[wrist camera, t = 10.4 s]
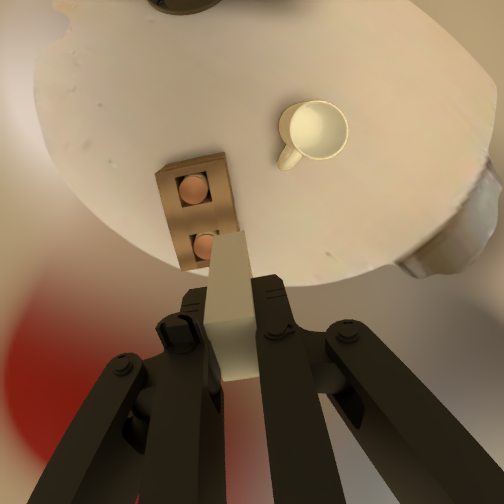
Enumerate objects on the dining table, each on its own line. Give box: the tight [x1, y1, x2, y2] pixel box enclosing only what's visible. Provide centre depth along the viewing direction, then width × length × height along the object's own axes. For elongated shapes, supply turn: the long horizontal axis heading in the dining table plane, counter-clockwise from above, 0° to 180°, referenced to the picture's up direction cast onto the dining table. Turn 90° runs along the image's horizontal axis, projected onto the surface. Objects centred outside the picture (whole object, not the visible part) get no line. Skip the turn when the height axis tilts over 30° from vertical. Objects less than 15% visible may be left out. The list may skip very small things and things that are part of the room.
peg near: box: [179, 171, 209, 204], centre depth 44 cm, size 4×4×8 cm
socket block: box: [155, 152, 240, 271], centre depth 47 cm, size 16×10×8 cm, turn 9°
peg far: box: [194, 230, 220, 260], centre depth 48 cm, size 4×4×8 cm
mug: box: [278, 100, 348, 170], centre depth 42 cm, size 12×8×10 cm
